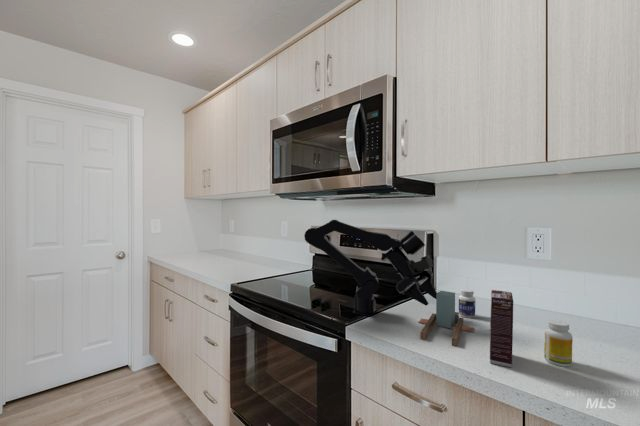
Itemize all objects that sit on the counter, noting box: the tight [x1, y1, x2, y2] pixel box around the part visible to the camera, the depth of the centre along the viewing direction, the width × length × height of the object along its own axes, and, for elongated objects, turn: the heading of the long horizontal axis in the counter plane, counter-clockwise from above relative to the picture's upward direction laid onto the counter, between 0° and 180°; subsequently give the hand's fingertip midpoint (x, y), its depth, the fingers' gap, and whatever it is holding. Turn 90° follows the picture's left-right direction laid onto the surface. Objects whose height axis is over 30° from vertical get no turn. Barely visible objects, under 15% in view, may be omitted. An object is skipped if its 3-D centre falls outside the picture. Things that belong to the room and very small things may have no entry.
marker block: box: [435, 290, 456, 329], centre depth 100 cm, size 4×4×10 cm
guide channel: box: [418, 311, 475, 347], centre depth 96 cm, size 16×21×3 cm
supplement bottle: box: [543, 319, 573, 368], centre depth 76 cm, size 5×5×10 cm
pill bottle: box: [457, 288, 476, 319], centre depth 109 cm, size 5×5×9 cm
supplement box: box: [489, 289, 514, 368], centre depth 77 cm, size 9×5×16 cm, turn 151°
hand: (432, 301), depth 102 cm, fingers open, 9 cm apart
